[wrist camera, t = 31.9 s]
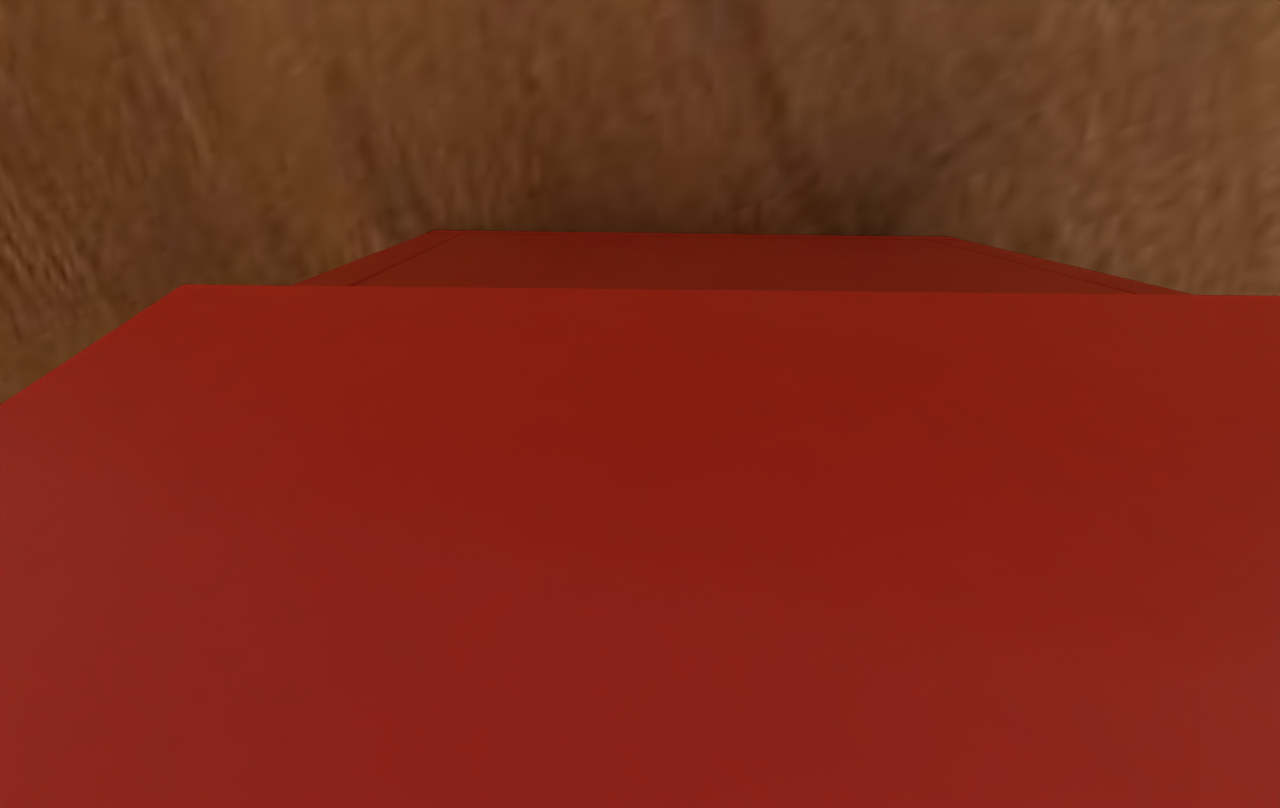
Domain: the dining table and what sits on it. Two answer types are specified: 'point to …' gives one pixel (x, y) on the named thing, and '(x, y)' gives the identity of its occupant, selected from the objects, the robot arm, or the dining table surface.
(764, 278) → the red tapered bin
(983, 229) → the dining table surface
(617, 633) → the lid
